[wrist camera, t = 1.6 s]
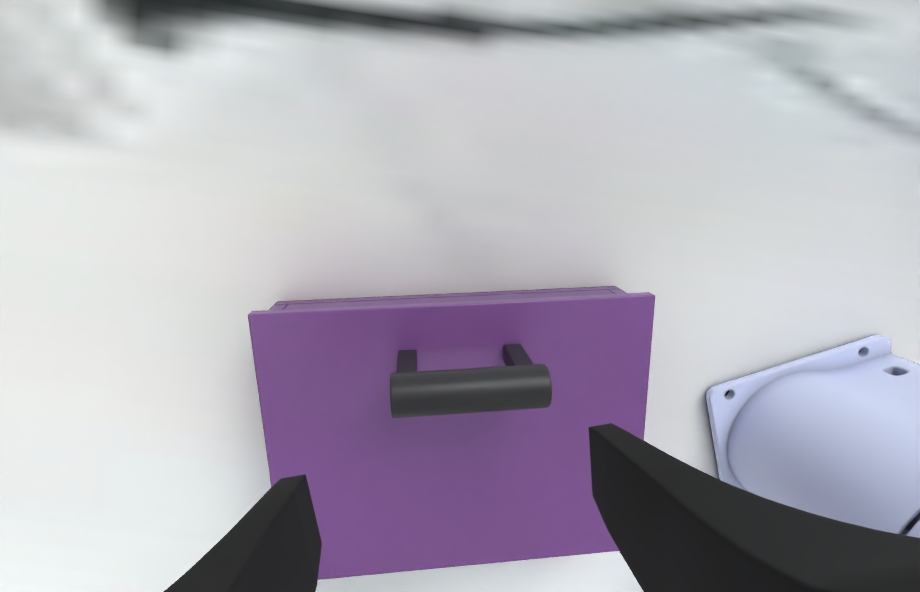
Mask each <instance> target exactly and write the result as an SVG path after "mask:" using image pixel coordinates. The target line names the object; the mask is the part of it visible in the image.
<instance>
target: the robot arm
mask: <svg viewBox="0 0 920 592" xmlns="http://www.w3.org/2000/svg"><path fill="white" fill-rule="evenodd" d="M860 349H861V351H860V352H859V350H860ZM728 390H729V393H728V395H726V396H724V395H725V393H726V391H728ZM706 401H707V407H708V412H709V418H710V424H711V430H712V436H713V442H714V448H715V454H716V460H717V466H718V472H719V478H720V480H719V479H717V478H715V477H712V476H710V475H708V474H706V473H704V472H702V471H700V470H698V469H696V468H693V467H691V466H690V465H688V464H686V463H684V462H682V461H680V460H678V459H676V458H674V457H672V456H670V455H668V454H667V453H665V452H663V451H661V450H659V449H657V448H656V447H654V446H652V445H650V444H649V443H647V442H645V441H643V440H642V439H640V438H638V437H636V436H634V435H633V434H631V433H629V432H627V431H626V430H624V429H622V428H620V427H618V426H616V425H614V424H612V423H609V424H603V425H597V426H591V427H588V428H589V445H590V461H591V478H592V495H593V498H594V500H595V502H596V505H597V507H598V509H599V512H600V514H601V516H602V519H603V521H604V523H605V525H606V528H607V530H608V532H609V534H610V535H611V537H612V539H613V541H614V542H615V544H616V546H617V547H618V549H619V551H620V553H621V554H622V556H623V558H624V559H625V561H626V563H627V564H628V566H629V568H630V569H631V571H632V573H633V574H634V576H635V578H636V579H637V581H638V583H639V584H640V586H641V588H642V590H643V591H644V592H920V365H919V364H917V363H914V362H911V361H909V360H906V359H904V358H901V357H898V356H896V355H893V354H892V352H891V341H890V339H889V338H888V337H886V336H883V335H880V334H878V335H873V336H870V337H867V338H864V339H861V340H857V341H854V342H851V343H848V344H845V345H842V346H838V347H835V348H832V349H829V350H826V351H823V352H820V353H816V354H813V355H810V356H807V357H804V358H801V359H797V360H794V361H791V362H788V363H785V364H782V365H779V366H775V367H772V368H769V369H766V370H763V371H760V372H756V373H753V374H750V375H747V376H744V377H741V378H738V379H734V380H731V381H728V382H725V383H722V384H719V385H715V386H713V387H711V388H710V389H709V390H708V391H707V393H706ZM321 547H322V541H321V537H320V533H319V528H318V524H317V520H316V516H315V512H314V507H313V503H312V499H311V495H310V490H309V486H308V482H307V478H306V474H304V475H298V476H292V477H286V478H281V479H280V480H279V481H278V482H277V483H275V484H274V485H273V486H272V487H271V489H270V490H269V491H268V492H267V493H266V494H265V495H264V496H263V497H262V498H261V499H260V500H259V501H258V502H257V503H256V504H255V505H254V506H253V507H252V508H251V510H250V511H249V512H248V513H247V514H246V515H245V516H244V517H243V518H242V519H241V520H240V521H239V522H238V523H237V524H236V525H235V526H234V527H233V528H232V529H231V530H230V531H229V532H228V533H227V534H226V535H225V536H224V537H223V538H222V539H221V540H220V541H219V542H218V543H217V544H216V545H215V546H214V547H213V548H212V549H211V550H210V551H209V552H208V553H206V554H205V555H204V556H203V557H202V558H201V559H200V560H199V561H198V562H197V563H196V564H195V565H194V566H193V567H192V568H191V569H190V570H188V571H187V572H186V573H185V574H184V575H183V576H182V577H181V578H179V579H178V580H177V581H176V582H175V583H174V584H172V585H171V586H170V587H169V588H168V589H166V590H165V591H164V592H315V590H316V586H317V580H318V572H319V565H320V556H321Z"/></svg>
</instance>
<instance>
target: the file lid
mask: <svg viewBox="0 0 920 592" xmlns="http://www.w3.org/2000/svg"><path fill="white" fill-rule="evenodd" d="M654 304H655V295H653V294H651V293H649V292H647V293H626V294H605V295H584V296H563V297H542V298H521V299H500V300H479V301H457V302H436V303H415V304H394V305H373V306H352V307H331V308H310V309H289V310H267V311H252V312H251V313H250V314H248V320H249V327H250V335H251V342H252V349H253V356H254V364H255V371H256V378H257V385H258V393H259V400H260V407H261V414H262V422H263V429H264V436H265V443H266V451H267V458H268V465H269V472H270V480H271V487H272V486H273V485H274V484H275V483H277V482H278V481H279V480H280V479H281V478H286V477H292V476H298V475H304V474H306V478H307V482H308V486H309V490H310V495H311V499H312V503H313V507H314V512H315V516H316V520H317V524H318V528H319V533H320V537H321V541H322V547H321V556H320V565H319V572H318V580H320V579H330V578H341V577H351V576H361V575H372V574H382V573H393V572H403V571H413V570H424V569H434V568H444V567H455V566H465V565H476V564H486V563H496V562H507V561H517V560H527V559H538V558H548V557H559V556H569V555H579V554H590V553H600V552H611V551H619V549H618V547H617V546H616V544H615V542H614V541H613V539H612V537H611V535H610V534H609V532H608V530H607V528H606V525H605V523H604V521H603V519H602V516H601V514H600V512H599V509H598V507H597V505H596V502H595V500H594V498H593V495H592V478H591V461H590V445H589V428H588V427H591V426H597V425H603V424H609V423H612V424H614V425H616V426H618V427H620V428H622V429H624V430H626V431H627V432H629V433H631V434H633V435H634V436H636V437H638V438H640V439H642V440H644V428H645V415H646V403H647V391H648V378H649V366H650V353H651V341H652V329H653V316H654Z"/></svg>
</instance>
